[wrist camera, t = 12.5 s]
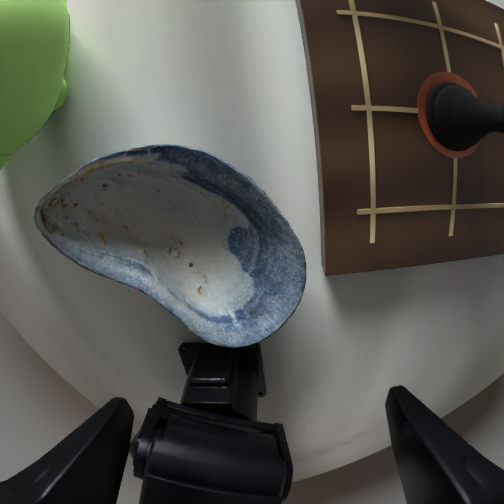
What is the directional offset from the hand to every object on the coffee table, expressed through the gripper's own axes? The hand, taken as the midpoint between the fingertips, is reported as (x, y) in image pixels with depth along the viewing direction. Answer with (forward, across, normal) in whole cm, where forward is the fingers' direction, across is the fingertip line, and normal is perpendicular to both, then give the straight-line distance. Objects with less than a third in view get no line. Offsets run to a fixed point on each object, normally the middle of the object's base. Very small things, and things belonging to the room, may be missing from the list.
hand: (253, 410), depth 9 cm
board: (+12, -13, -9) cm, 20 cm away
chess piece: (+11, -13, -9) cm, 19 cm away
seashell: (+12, +5, -2) cm, 13 cm away
